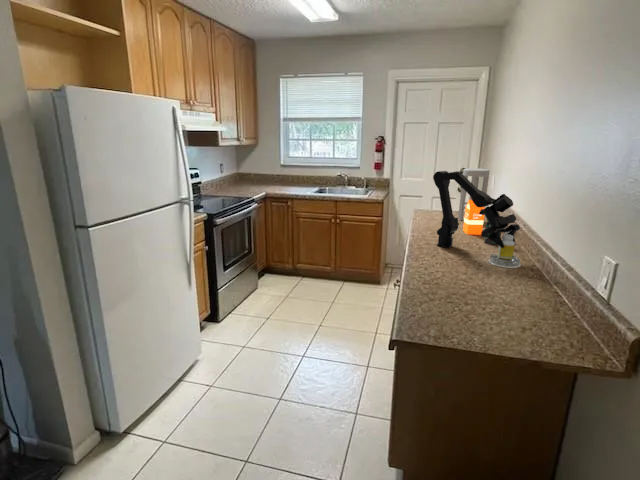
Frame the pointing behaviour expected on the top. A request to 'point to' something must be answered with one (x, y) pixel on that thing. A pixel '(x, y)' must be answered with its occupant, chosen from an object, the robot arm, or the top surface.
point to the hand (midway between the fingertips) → (508, 246)
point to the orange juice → (473, 219)
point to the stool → (475, 180)
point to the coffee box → (488, 236)
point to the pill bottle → (506, 248)
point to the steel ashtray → (510, 264)
